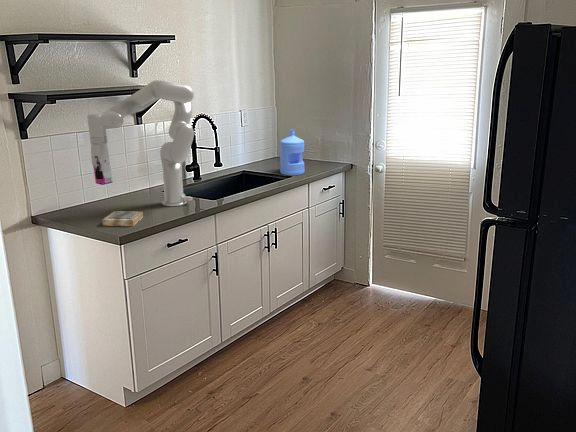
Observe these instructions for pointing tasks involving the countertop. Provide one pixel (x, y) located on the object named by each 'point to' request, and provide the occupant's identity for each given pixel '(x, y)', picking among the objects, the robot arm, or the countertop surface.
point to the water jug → (292, 155)
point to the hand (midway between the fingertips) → (103, 176)
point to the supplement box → (104, 173)
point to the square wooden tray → (122, 218)
